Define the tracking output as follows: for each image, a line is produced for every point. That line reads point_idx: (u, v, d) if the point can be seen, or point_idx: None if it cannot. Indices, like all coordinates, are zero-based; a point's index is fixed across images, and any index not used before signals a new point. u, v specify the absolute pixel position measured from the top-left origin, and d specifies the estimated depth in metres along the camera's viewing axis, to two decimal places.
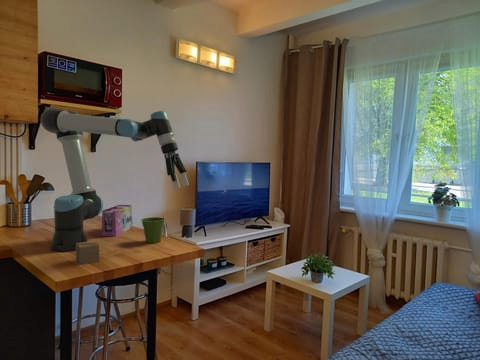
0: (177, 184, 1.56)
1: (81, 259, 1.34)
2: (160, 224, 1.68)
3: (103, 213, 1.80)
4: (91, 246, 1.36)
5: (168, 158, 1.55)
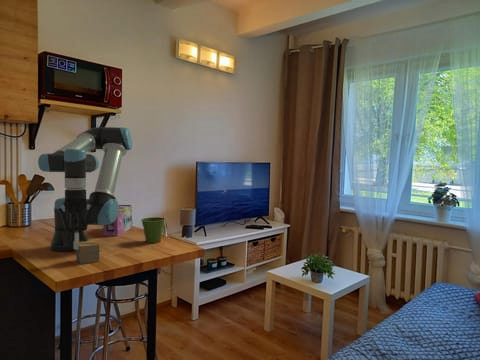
0: (74, 245, 1.35)
1: (81, 258, 1.34)
2: (160, 224, 1.68)
3: None
4: (91, 245, 1.36)
5: (61, 214, 1.31)
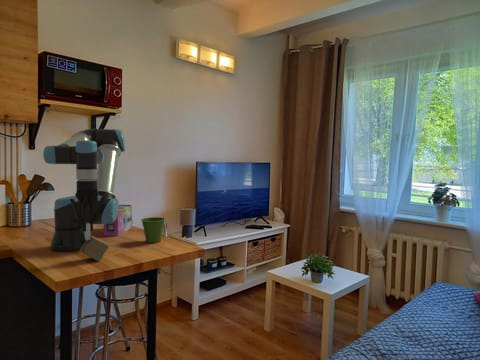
0: (86, 235, 1.37)
1: (87, 249, 1.35)
2: (160, 224, 1.68)
3: None
4: (102, 243, 1.38)
5: (73, 205, 1.34)
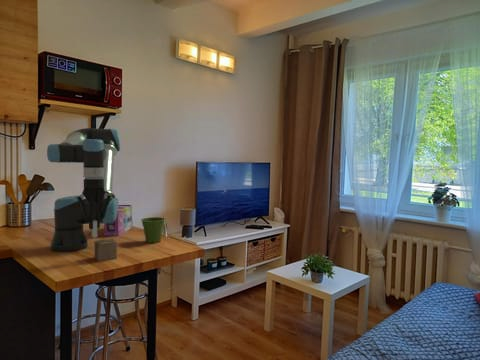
0: (92, 233, 1.38)
1: (104, 244, 1.38)
2: (160, 224, 1.68)
3: None
4: (115, 252, 1.41)
5: (80, 203, 1.35)
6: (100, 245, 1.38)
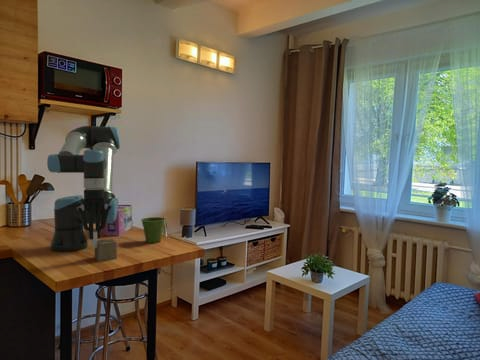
0: (93, 243, 1.39)
1: (104, 244, 1.38)
2: (160, 224, 1.68)
3: None
4: (115, 252, 1.41)
5: (80, 213, 1.35)
6: (100, 245, 1.38)
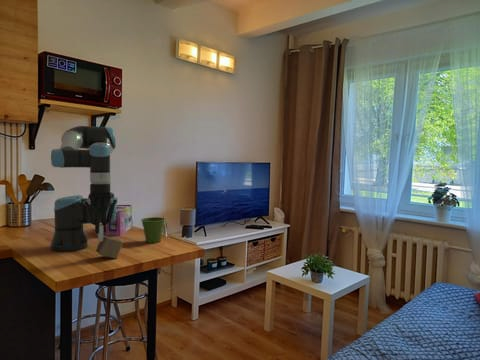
0: (99, 237, 1.40)
1: (111, 240, 1.40)
2: (160, 224, 1.68)
3: None
4: (118, 252, 1.42)
5: (86, 207, 1.37)
6: (107, 239, 1.39)
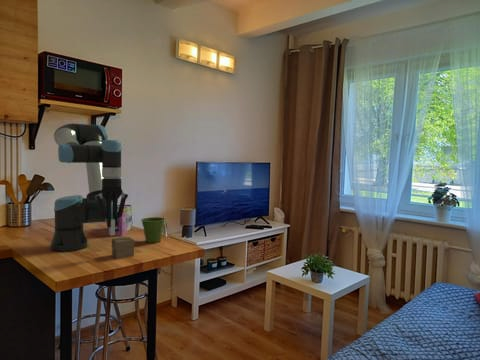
0: (110, 231, 1.42)
1: (132, 244, 1.45)
2: (160, 224, 1.68)
3: None
4: (123, 257, 1.43)
5: (98, 201, 1.39)
6: (132, 241, 1.45)
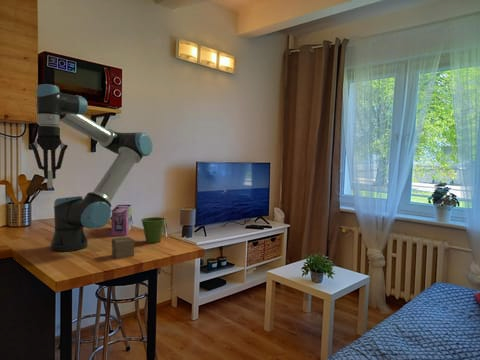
0: (48, 183, 1.33)
1: (132, 244, 1.45)
2: (160, 224, 1.68)
3: (113, 213, 1.81)
4: (123, 257, 1.43)
5: (33, 150, 1.30)
6: (132, 241, 1.45)
